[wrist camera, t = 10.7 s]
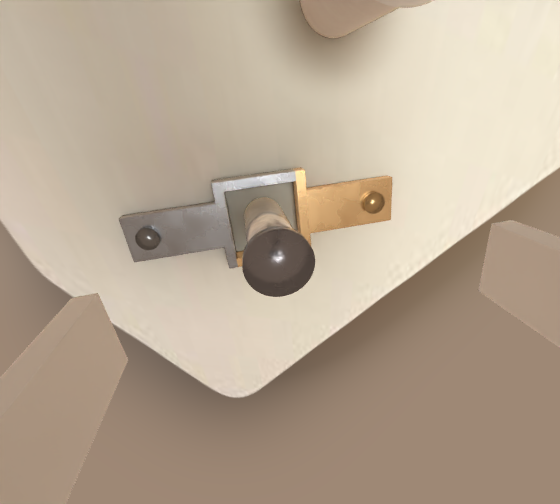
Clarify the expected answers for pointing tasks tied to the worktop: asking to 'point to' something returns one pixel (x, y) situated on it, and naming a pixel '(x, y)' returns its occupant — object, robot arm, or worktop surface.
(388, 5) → the coffee cup
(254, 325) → the worktop surface
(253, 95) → the worktop surface
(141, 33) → the worktop surface
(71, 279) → the worktop surface
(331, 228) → the link plate bronze
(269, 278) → the pin
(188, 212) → the link plate steel
